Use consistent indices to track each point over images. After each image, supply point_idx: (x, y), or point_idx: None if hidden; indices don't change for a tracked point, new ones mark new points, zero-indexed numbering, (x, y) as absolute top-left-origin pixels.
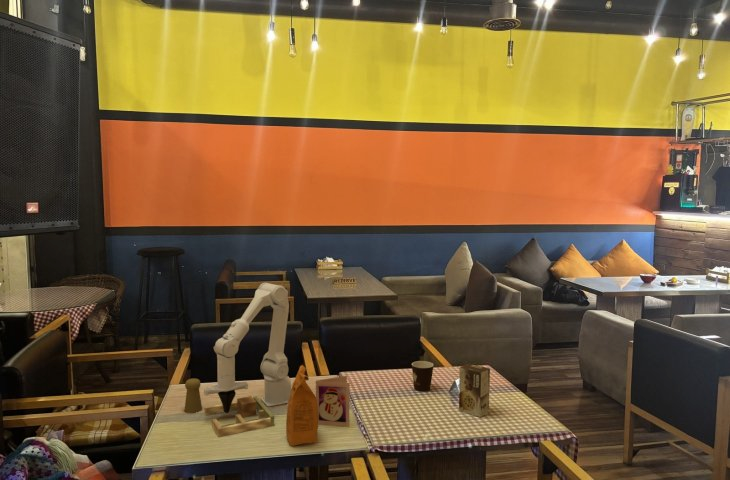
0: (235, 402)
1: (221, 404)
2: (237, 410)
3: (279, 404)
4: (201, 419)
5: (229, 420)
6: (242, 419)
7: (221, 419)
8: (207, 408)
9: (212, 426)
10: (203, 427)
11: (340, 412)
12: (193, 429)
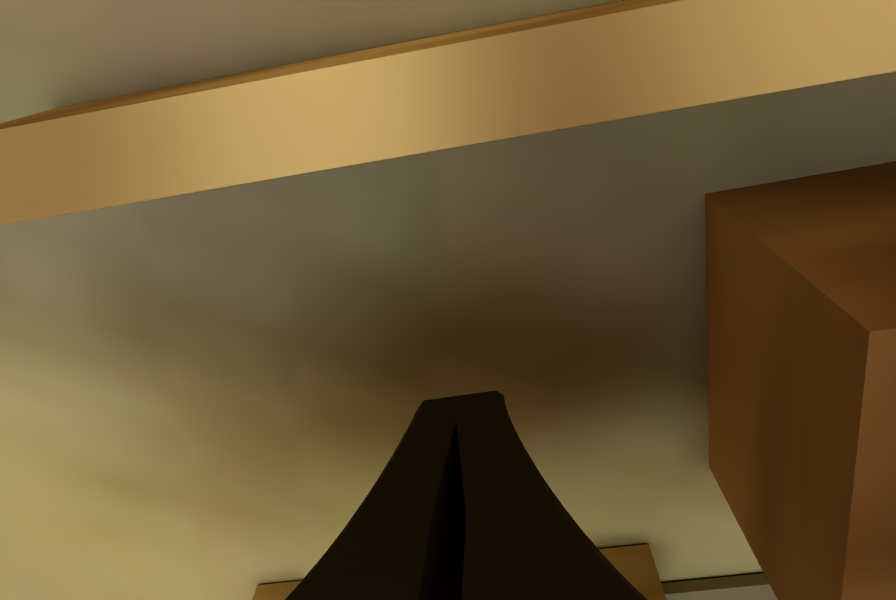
0: (785, 44)
1: (372, 76)
2: (719, 219)
3: None
4: (45, 324)
5: None
6: None
7: (383, 414)
8: (31, 218)
9: (258, 595)
10: (140, 571)
11: None
12: (18, 585)
